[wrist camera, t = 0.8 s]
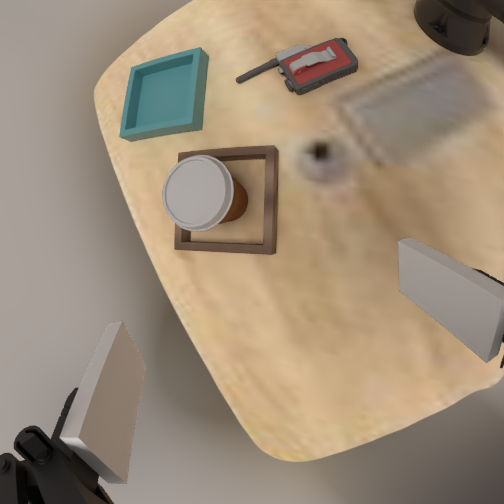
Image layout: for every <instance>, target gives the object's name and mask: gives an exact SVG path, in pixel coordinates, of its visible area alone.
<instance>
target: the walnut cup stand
mask: <svg viewBox="0 0 504 504" xmlns="http://www.w3.org/2000/svg"><path fill="white" fill-rule="evenodd" d="M196 155H208V156H211V157H214V158H216V159H217V160H219V161H230V160H249V159H266V160H265V201H264V236H263V245H262V244H238V243H214V242H190V234H191V231H189V230H186V229H183V228H181V227H180V226H178V225H177V224H176V223H175V250H192V251H211V252H230V253H250V254H269V255H272V254H275V253H276V236H277V199H278V150H277V149H276V147H275V146H252V147H236V148H222V149H210V150H200V151H190V152H181V153H179V154H178V163H179V162H180V161H182V160H184V159H186V158H189V157H192V156H196Z"/></svg>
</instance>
